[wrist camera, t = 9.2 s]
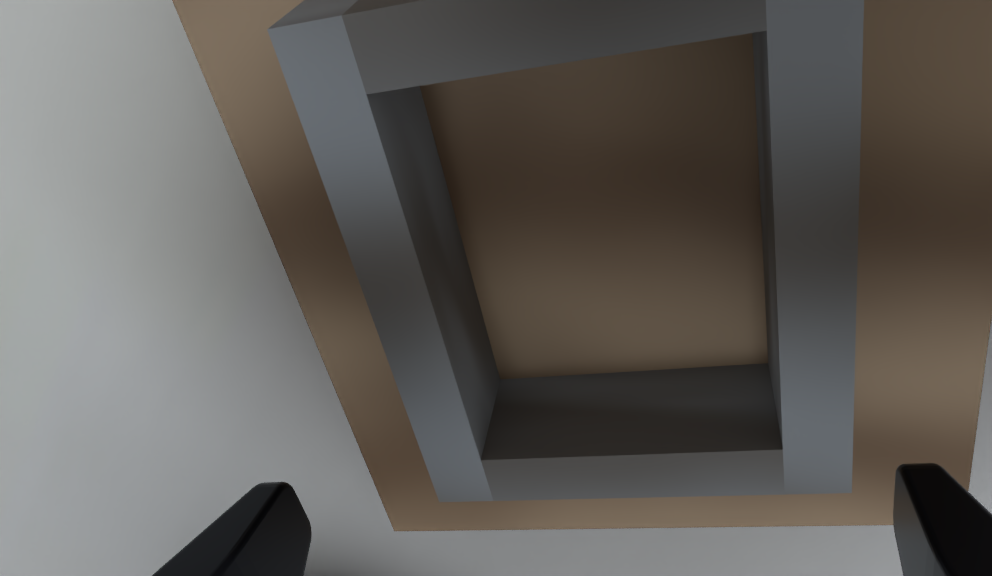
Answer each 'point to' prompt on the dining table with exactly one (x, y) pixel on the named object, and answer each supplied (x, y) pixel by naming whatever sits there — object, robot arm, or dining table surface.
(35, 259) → the dining table surface
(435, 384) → the duct collar
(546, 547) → the dining table surface
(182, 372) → the dining table surface
